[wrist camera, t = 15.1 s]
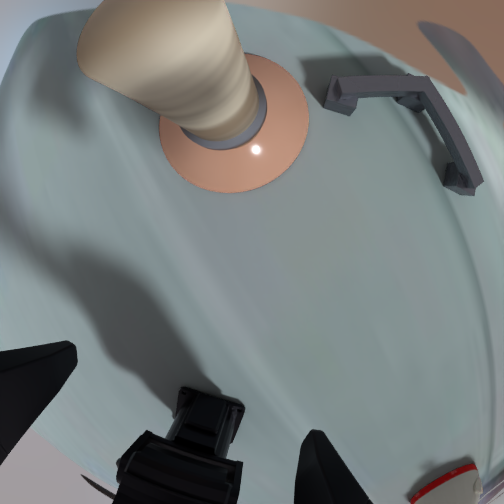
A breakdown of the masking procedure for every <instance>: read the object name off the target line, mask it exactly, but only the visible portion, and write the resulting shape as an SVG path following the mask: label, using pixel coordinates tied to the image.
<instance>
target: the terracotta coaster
mask: <svg viewBox="0 0 504 504" xmlns="http://www.w3.org/2000/svg"><path fill="white" fill-rule="evenodd" d="M245 57H246V60H247V63H248V66H249V69H250V72H251V74H252V75H253V76H254V77H255V78H256V79H257V80H258V81H259V82H260V84H261V85H262V87H263V89H264V92H265V96H266V100H267V115H266V119H265V121H264V124H263V126H262V127H261V130H260V131H259V133H258V134H257V136H256V137H255V138H254V139H253V140H252V141H251V142H249V143H248V144H246V145H244V146H242V147H239V148H236V149H229V150H211V149H207V148H205V147H202V146H200V145H198V144H196V143H195V142H193V141H192V140H190V139H189V138H188V137H187V136H186V135H185V134H184V133H183V132H182V130H181V128H180V126H179V125H177V124H175V123H174V122H172V121H170V120H168V119H167V118H165V117H163V116H160V123H159V134H160V140H161V145H162V148H163V151H164V153H165V155H166V158H167V160H168V161H169V163H170V164H171V166H172V167H173V168H174V169H175V170H176V171H177V173H178V174H180V175H181V176H182V177H183V178H184V179H186V180H187V181H189V182H190V183H192V184H194V185H196V186H198V187H200V188H203V189H206V190H209V191H215V192H222V193H237V192H244V191H249V190H253V189H256V188H259V187H262V186H264V185H266V184H268V183H270V182H271V181H273V180H274V179H276V178H277V177H279V176H280V175H281V174H282V173H284V172H285V171H286V170H287V169H288V168H289V167H290V166H291V164H292V163H293V162H294V161H295V159H296V158H297V156H298V155H299V153H300V151H301V149H302V147H303V145H304V142H305V139H306V136H307V131H308V125H309V113H308V106H307V102H306V98H305V96H304V93H303V91H302V89H301V87H300V86H299V84H298V83H297V81H296V80H295V79H294V78H293V76H292V75H291V74H290V73H289V72H287V71H286V70H285V69H284V68H283V67H281V66H280V65H278V64H276V63H275V62H273V61H271V60H268V59H266V58H263V57H260V56H256V55H250V54H245Z"/></svg>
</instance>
